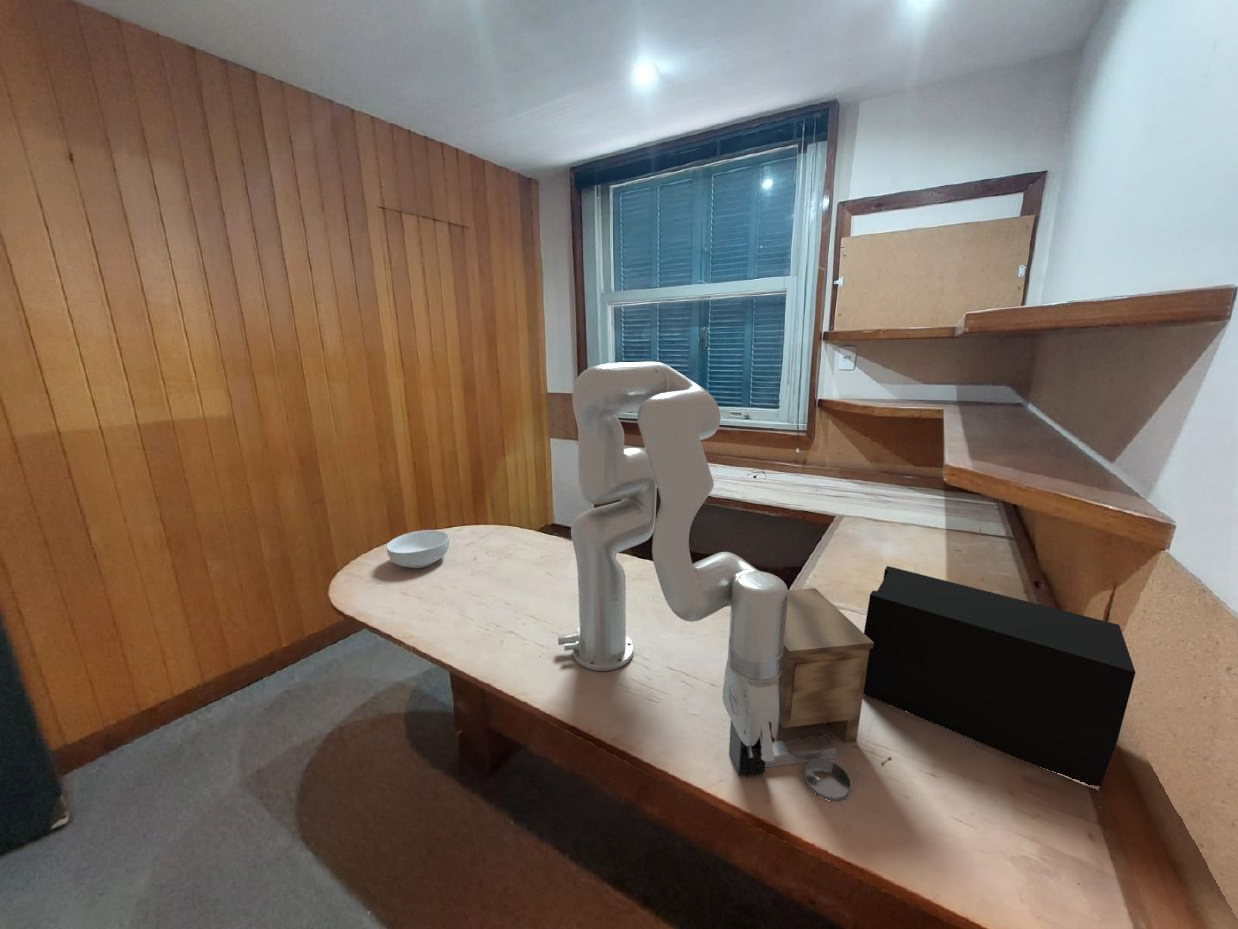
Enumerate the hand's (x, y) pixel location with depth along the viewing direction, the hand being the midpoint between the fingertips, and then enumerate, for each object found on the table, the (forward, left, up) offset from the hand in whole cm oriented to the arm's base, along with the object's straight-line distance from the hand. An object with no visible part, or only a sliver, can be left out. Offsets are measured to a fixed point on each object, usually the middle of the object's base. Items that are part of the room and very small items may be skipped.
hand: (747, 759), depth 73 cm
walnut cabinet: (+13, +9, -1) cm, 16 cm away
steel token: (+10, -5, -1) cm, 11 cm away
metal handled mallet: (+6, 0, -1) cm, 6 cm away
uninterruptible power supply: (+43, +4, -1) cm, 43 cm away
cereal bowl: (-68, +80, -1) cm, 105 cm away
